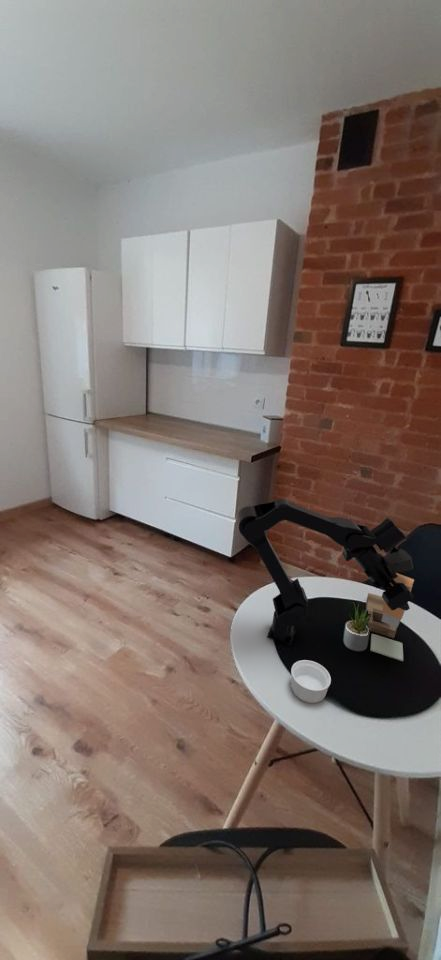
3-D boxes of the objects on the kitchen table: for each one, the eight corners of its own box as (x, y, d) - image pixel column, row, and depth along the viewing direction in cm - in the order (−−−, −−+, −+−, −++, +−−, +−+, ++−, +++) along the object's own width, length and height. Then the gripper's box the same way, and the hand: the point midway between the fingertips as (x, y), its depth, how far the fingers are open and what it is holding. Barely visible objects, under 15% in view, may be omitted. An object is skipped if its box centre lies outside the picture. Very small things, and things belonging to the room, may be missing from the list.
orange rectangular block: (397, 629, 102) (410, 587, 98) (379, 621, 104) (390, 579, 100) (401, 620, 106) (414, 579, 102) (383, 613, 108) (395, 572, 104)
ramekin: (286, 698, 86) (288, 682, 85) (290, 669, 94) (293, 655, 93) (326, 711, 84) (330, 695, 83) (328, 680, 92) (331, 666, 91)
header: (394, 638, 109) (396, 631, 108) (364, 629, 111) (366, 621, 111) (393, 607, 123) (394, 600, 122) (366, 599, 126) (368, 592, 125)
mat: (402, 661, 100) (403, 660, 100) (370, 650, 103) (370, 649, 103) (401, 644, 107) (402, 643, 107) (371, 634, 109) (371, 633, 109)
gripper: (415, 561, 89) (448, 606, 93) (382, 526, 106) (411, 565, 110) (373, 588, 91) (407, 631, 95) (348, 549, 109) (378, 587, 112)
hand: (401, 601), depth 103 cm, fingers closed on orange rectangular block, 7 cm apart
